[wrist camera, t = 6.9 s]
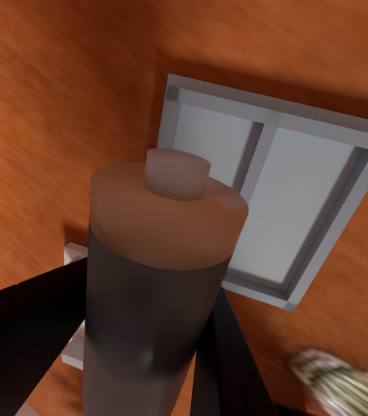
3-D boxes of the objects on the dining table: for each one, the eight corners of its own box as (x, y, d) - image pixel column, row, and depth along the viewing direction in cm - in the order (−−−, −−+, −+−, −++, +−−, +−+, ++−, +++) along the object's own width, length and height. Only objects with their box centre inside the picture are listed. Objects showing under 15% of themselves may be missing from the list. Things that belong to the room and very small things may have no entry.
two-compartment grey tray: (288, 296, 21) (294, 319, 18) (144, 249, 22) (133, 265, 20) (386, 125, 14) (414, 128, 12) (174, 76, 16) (163, 70, 14)
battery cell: (186, 352, 11) (162, 464, 8) (112, 325, 12) (57, 419, 8) (254, 162, 7) (271, 213, 4) (137, 130, 8) (46, 148, 4)
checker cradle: (125, 355, 29) (112, 385, 26) (70, 333, 30) (50, 360, 27) (141, 265, 23) (125, 291, 20) (70, 241, 24) (44, 262, 21)
